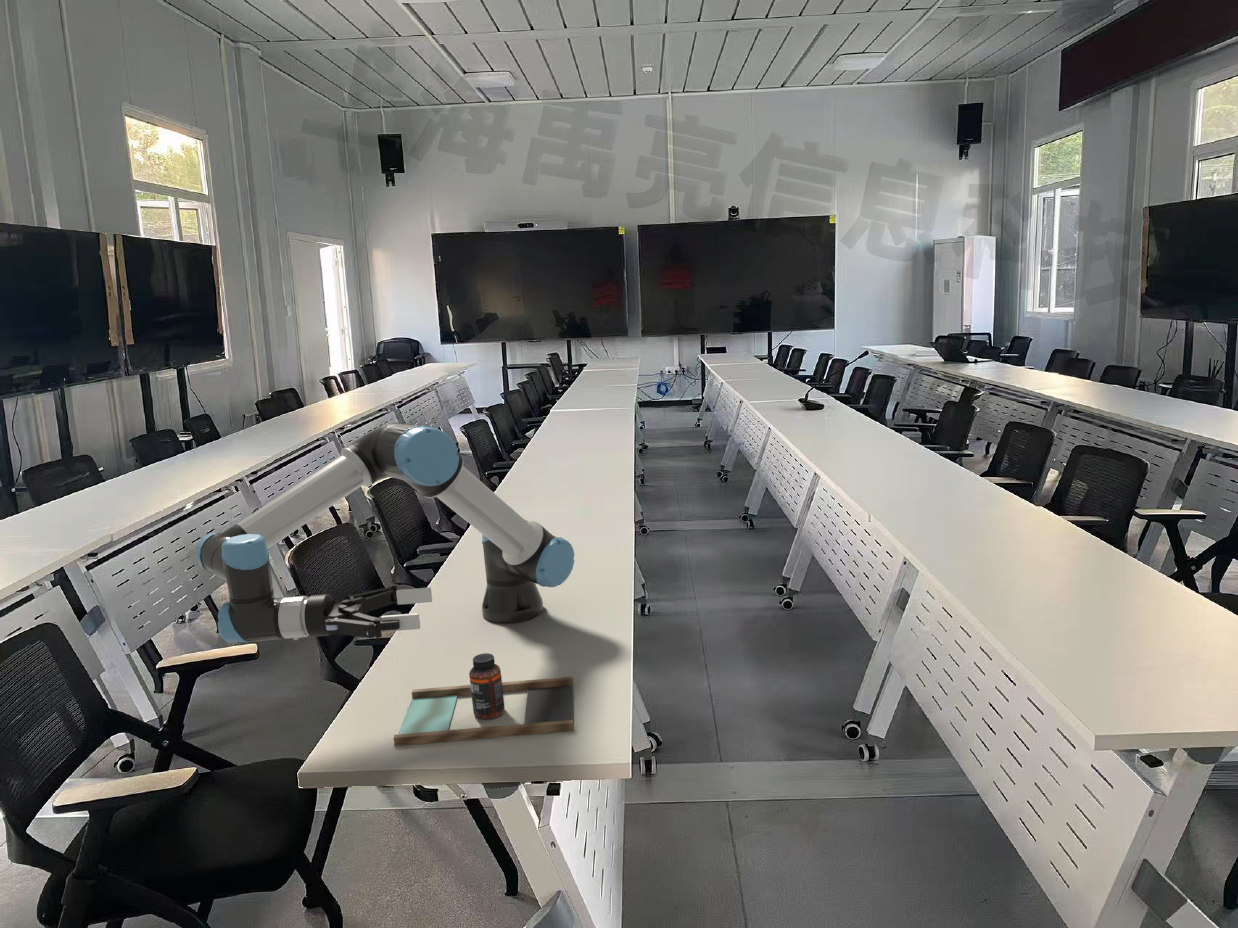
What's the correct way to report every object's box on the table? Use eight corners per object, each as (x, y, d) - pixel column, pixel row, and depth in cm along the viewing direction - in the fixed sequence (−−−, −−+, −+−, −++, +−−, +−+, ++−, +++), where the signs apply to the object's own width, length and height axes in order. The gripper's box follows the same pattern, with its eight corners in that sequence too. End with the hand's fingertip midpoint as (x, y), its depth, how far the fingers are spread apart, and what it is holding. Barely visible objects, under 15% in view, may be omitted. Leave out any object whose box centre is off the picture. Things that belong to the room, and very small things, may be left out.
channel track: (394, 745, 154) (393, 737, 154) (413, 696, 173) (412, 689, 172) (573, 730, 155) (572, 722, 155) (573, 683, 174) (572, 676, 174)
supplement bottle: (506, 704, 167) (501, 649, 165) (503, 719, 161) (498, 662, 159) (475, 706, 167) (470, 651, 165) (471, 721, 161) (465, 665, 159)
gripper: (330, 611, 171) (437, 602, 172) (290, 663, 147) (415, 653, 148) (325, 575, 170) (433, 566, 171) (284, 622, 145) (411, 612, 146)
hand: (425, 607), depth 159 cm, fingers open, 13 cm apart
